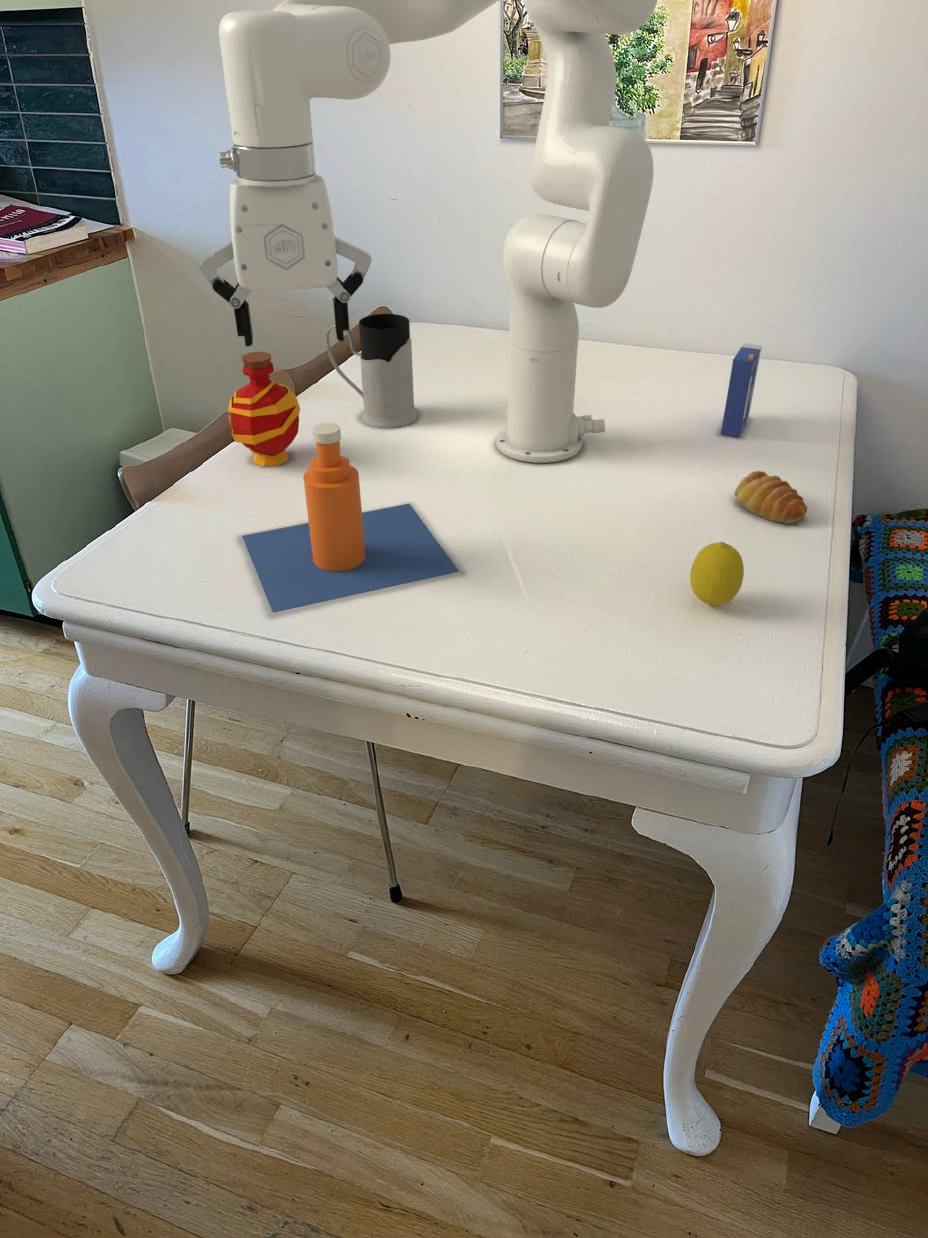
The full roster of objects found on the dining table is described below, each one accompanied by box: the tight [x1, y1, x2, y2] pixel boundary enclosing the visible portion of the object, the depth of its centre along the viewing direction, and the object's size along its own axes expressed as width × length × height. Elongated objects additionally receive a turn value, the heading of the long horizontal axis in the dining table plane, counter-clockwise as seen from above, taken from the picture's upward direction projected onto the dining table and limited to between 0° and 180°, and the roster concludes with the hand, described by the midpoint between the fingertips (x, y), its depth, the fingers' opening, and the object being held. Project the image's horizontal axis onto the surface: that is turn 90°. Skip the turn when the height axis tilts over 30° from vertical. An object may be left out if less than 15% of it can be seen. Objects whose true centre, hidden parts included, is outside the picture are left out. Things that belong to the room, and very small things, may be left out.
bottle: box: [302, 422, 365, 572], centre depth 105 cm, size 6×6×17 cm
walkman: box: [720, 342, 762, 439], centre depth 138 cm, size 8×3×12 cm, turn 155°
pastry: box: [734, 470, 808, 524], centre depth 119 cm, size 9×7×4 cm
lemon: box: [689, 541, 745, 607], centre depth 100 cm, size 6×6×8 cm
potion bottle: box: [227, 351, 302, 467], centre depth 129 cm, size 10×10×15 cm
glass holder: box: [325, 313, 418, 429], centre depth 142 cm, size 9×14×15 cm, turn 71°
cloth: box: [241, 503, 460, 613], centre depth 111 cm, size 22×18×1 cm
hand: (295, 339), depth 99 cm, fingers open, 9 cm apart
